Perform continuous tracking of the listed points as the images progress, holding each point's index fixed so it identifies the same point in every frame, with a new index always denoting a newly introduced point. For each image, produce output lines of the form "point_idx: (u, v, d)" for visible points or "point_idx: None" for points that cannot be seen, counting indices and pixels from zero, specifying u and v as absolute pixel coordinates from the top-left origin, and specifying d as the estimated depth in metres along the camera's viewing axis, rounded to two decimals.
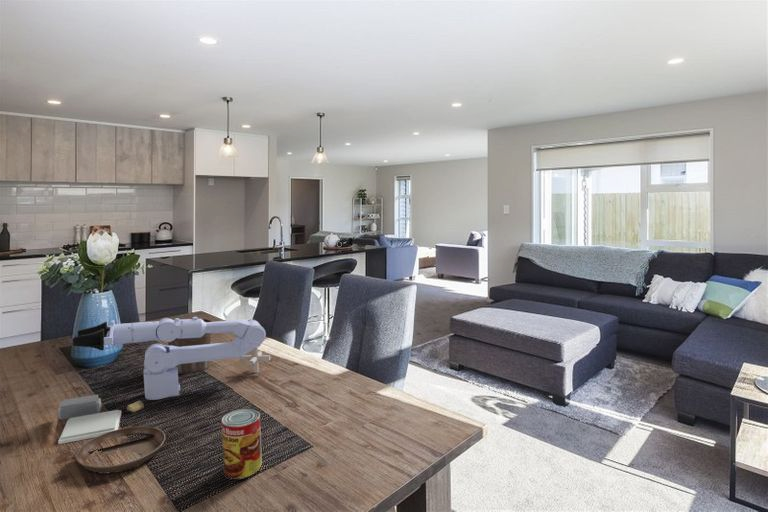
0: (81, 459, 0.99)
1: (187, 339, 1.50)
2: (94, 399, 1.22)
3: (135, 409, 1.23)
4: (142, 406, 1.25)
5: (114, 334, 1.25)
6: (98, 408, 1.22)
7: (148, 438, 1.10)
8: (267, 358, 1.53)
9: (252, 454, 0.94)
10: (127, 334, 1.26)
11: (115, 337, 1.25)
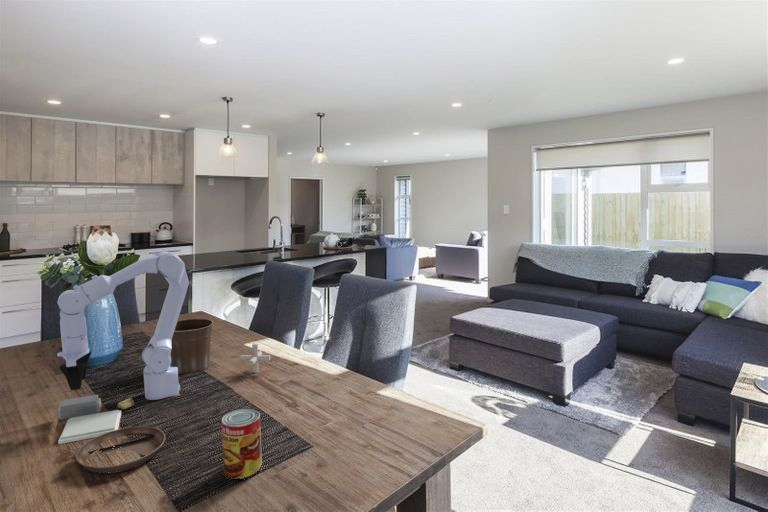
0: (81, 459, 0.99)
1: (187, 339, 1.50)
2: (94, 399, 1.22)
3: None
4: None
5: (70, 353, 1.17)
6: (98, 408, 1.22)
7: (148, 438, 1.10)
8: (267, 358, 1.53)
9: (252, 454, 0.94)
10: (71, 341, 1.17)
11: (74, 352, 1.18)
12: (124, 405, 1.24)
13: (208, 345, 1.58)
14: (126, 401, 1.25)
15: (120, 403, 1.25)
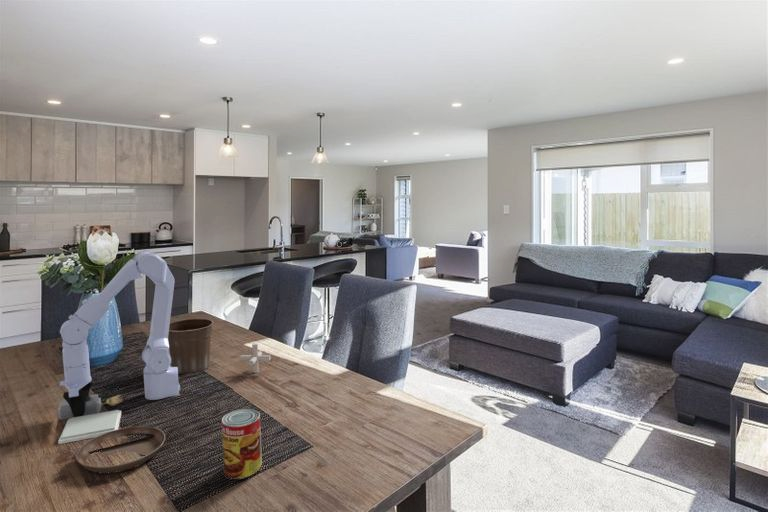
0: (81, 459, 0.99)
1: (187, 339, 1.50)
2: (94, 398, 1.22)
3: (114, 403, 1.27)
4: (121, 400, 1.29)
5: (72, 383, 1.18)
6: (98, 407, 1.22)
7: (148, 438, 1.10)
8: (267, 358, 1.53)
9: (252, 454, 0.94)
10: (73, 371, 1.18)
11: (76, 381, 1.18)
12: None
13: (208, 345, 1.58)
14: None
15: None
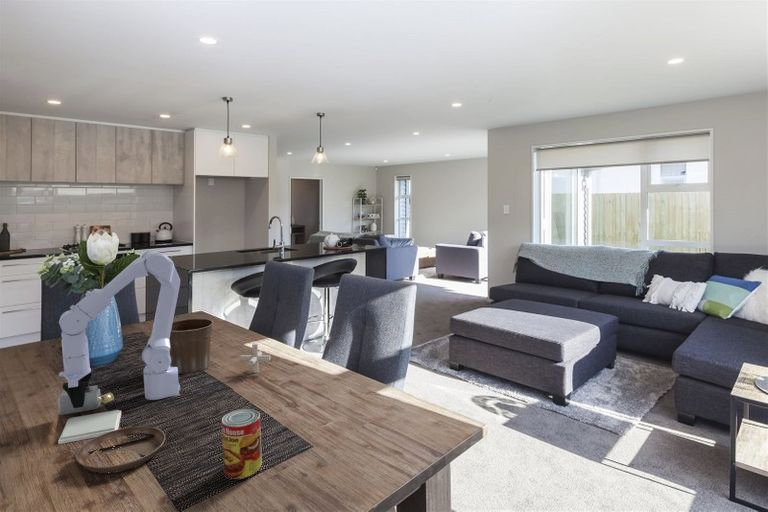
0: (81, 459, 0.99)
1: (187, 339, 1.51)
2: (93, 389, 1.22)
3: None
4: None
5: (72, 373, 1.18)
6: (98, 398, 1.22)
7: (148, 438, 1.10)
8: (267, 358, 1.53)
9: (252, 454, 0.94)
10: (72, 362, 1.18)
11: (76, 372, 1.18)
12: (104, 400, 1.28)
13: (208, 345, 1.58)
14: (106, 396, 1.29)
15: None
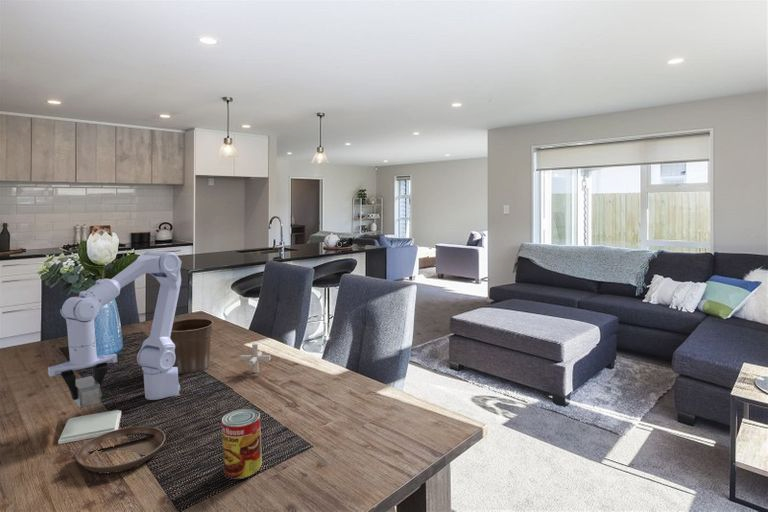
0: (81, 459, 0.99)
1: (187, 339, 1.50)
2: (83, 387, 1.11)
3: None
4: None
5: (69, 362, 1.12)
6: (82, 398, 1.10)
7: (148, 438, 1.10)
8: (267, 358, 1.53)
9: (252, 454, 0.94)
10: (69, 350, 1.12)
11: (70, 362, 1.12)
12: None
13: (208, 345, 1.58)
14: None
15: None
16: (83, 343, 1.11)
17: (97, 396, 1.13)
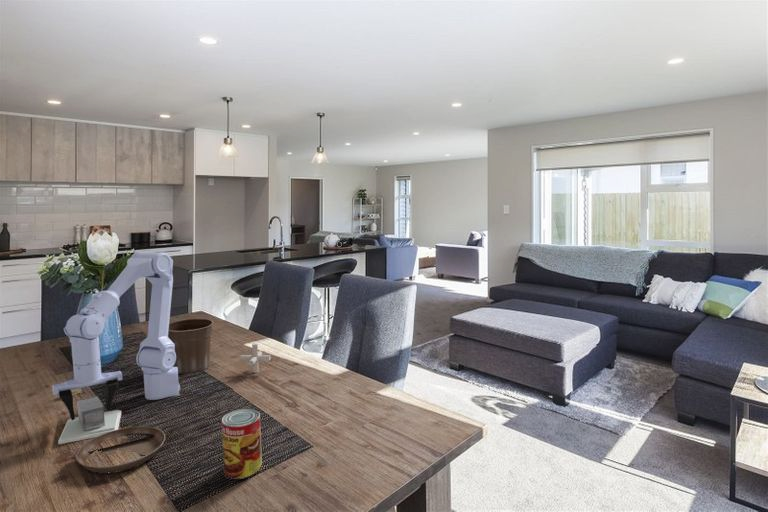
0: (81, 459, 0.99)
1: (187, 339, 1.50)
2: (86, 410, 1.10)
3: None
4: None
5: (74, 380, 1.11)
6: (85, 421, 1.09)
7: (148, 438, 1.10)
8: (267, 358, 1.53)
9: (252, 454, 0.94)
10: (73, 368, 1.10)
11: (74, 380, 1.10)
12: None
13: (208, 345, 1.58)
14: None
15: None
16: (89, 361, 1.10)
17: (100, 419, 1.11)
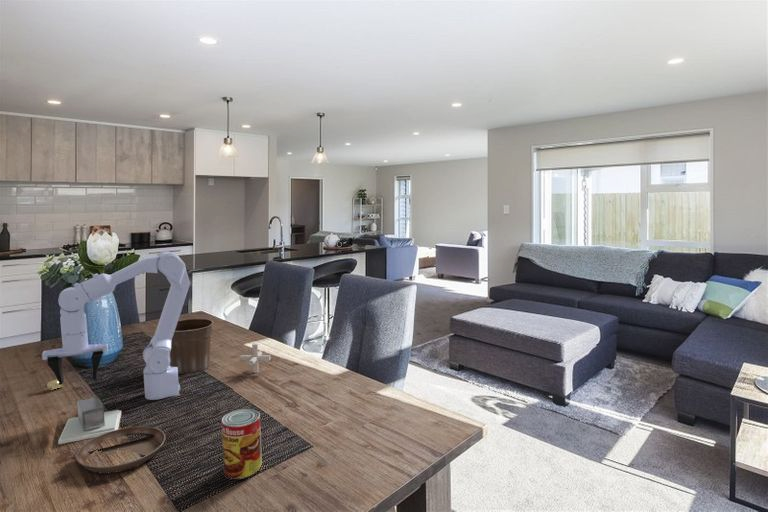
0: (81, 459, 0.99)
1: (187, 339, 1.50)
2: (86, 410, 1.10)
3: (52, 381, 1.40)
4: None
5: None
6: (85, 421, 1.09)
7: (148, 438, 1.10)
8: (267, 358, 1.53)
9: (252, 454, 0.94)
10: None
11: (62, 348, 1.19)
12: None
13: (208, 345, 1.58)
14: None
15: (52, 387, 1.39)
16: (68, 332, 1.18)
17: (100, 419, 1.11)
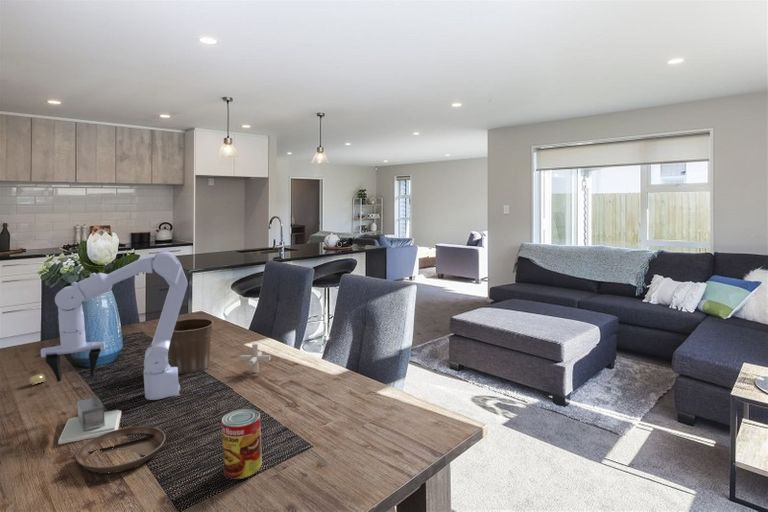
0: (81, 459, 0.99)
1: (187, 339, 1.50)
2: (86, 410, 1.10)
3: (33, 376, 1.44)
4: None
5: None
6: (85, 421, 1.09)
7: (148, 438, 1.10)
8: (267, 358, 1.53)
9: (252, 454, 0.94)
10: None
11: None
12: None
13: (208, 345, 1.58)
14: (39, 381, 1.44)
15: (34, 380, 1.43)
16: (65, 330, 1.20)
17: (100, 419, 1.11)
